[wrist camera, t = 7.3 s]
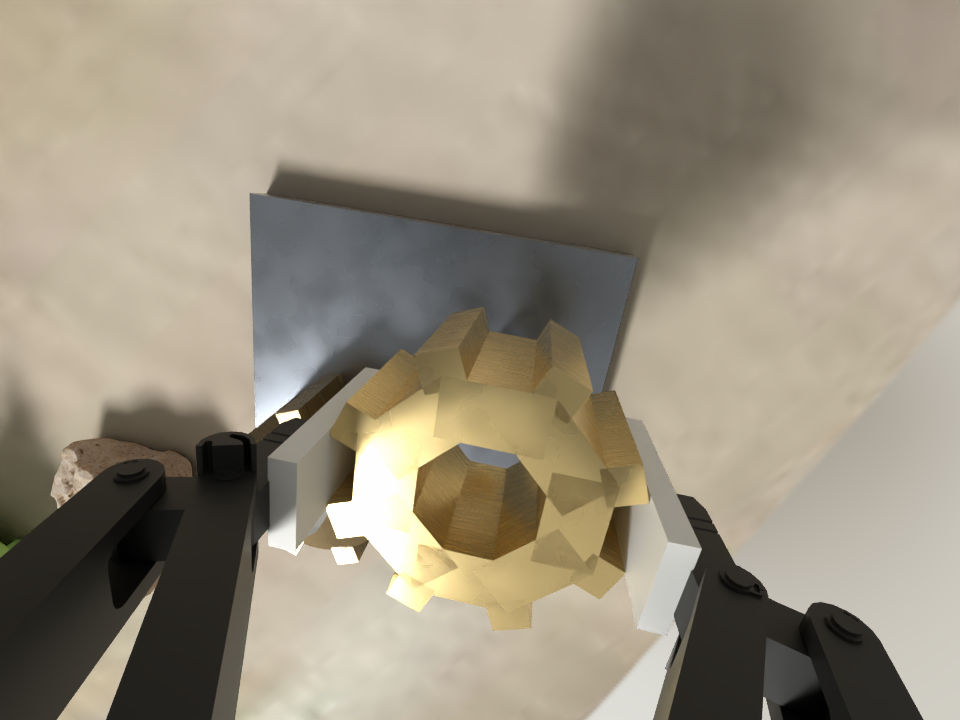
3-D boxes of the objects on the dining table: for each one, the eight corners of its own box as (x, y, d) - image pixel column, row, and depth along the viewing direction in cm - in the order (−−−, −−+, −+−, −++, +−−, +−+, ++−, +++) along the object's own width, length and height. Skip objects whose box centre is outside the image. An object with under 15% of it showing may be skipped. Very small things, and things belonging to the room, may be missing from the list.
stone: (222, 466, 32) (167, 511, 27) (181, 570, 36) (127, 626, 31) (106, 403, 31) (30, 438, 27) (77, 516, 35) (7, 564, 31)
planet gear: (395, 290, 16) (333, 323, 12) (644, 336, 16) (687, 391, 11) (375, 495, 19) (320, 588, 14) (584, 542, 18) (597, 656, 14)
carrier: (266, 193, 25) (136, 190, 17) (632, 254, 24) (679, 282, 16) (270, 494, 32) (179, 592, 24) (552, 554, 30) (557, 679, 23)
